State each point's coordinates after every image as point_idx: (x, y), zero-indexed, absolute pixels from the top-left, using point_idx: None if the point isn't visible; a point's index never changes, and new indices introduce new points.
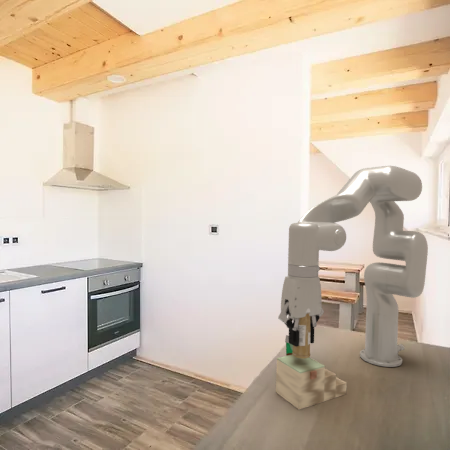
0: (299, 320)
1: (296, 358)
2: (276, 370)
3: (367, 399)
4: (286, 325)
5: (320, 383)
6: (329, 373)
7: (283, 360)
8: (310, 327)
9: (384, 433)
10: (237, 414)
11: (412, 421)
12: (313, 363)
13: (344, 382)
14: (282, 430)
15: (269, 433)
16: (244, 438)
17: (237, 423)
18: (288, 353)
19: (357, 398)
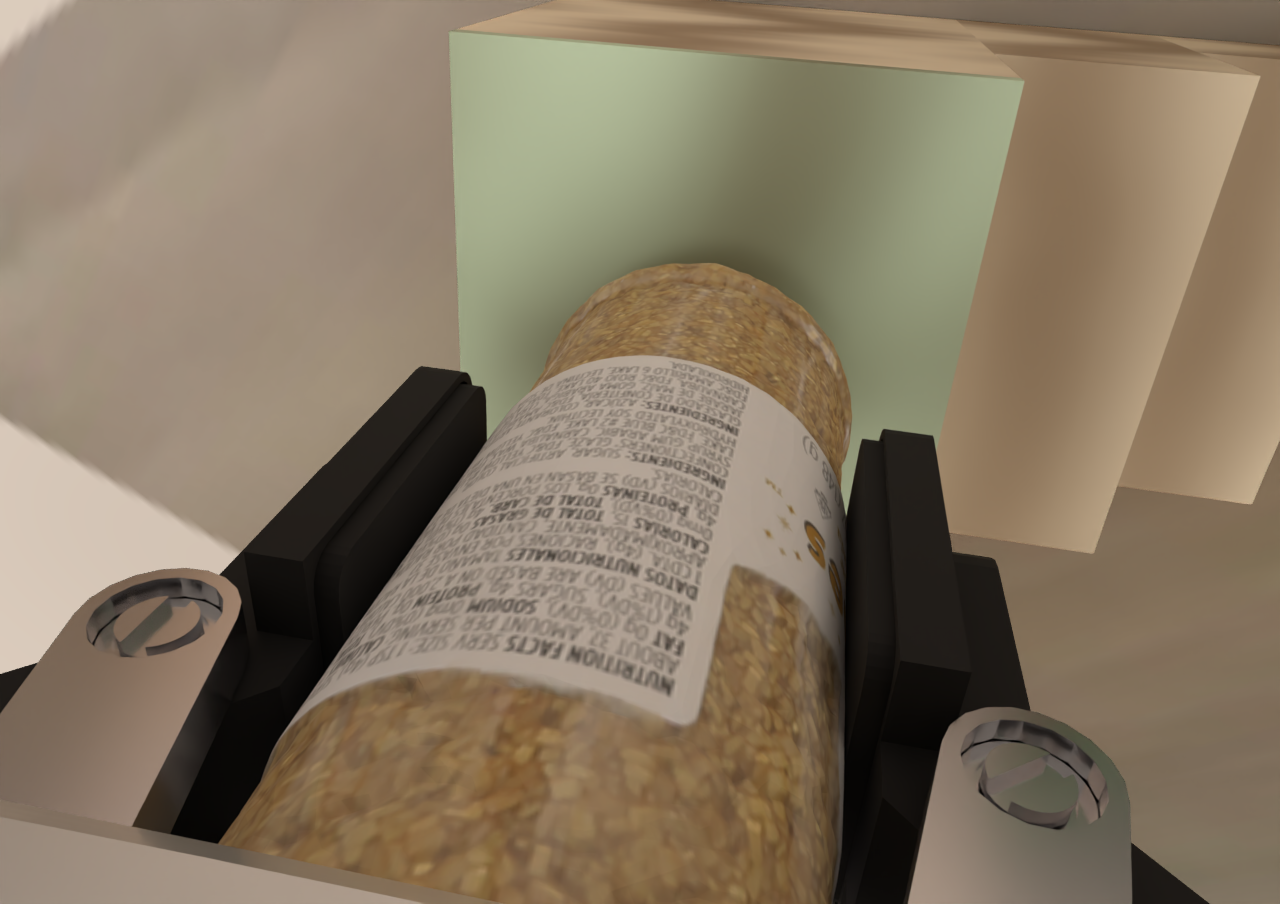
0: None
1: (739, 238)
2: (515, 13)
3: (1263, 595)
4: (4, 688)
5: None
6: (1049, 497)
7: (492, 175)
8: (852, 860)
9: None
10: (59, 115)
11: (1175, 876)
12: None
13: (1233, 490)
14: (298, 456)
15: (201, 429)
16: (27, 375)
17: (26, 218)
18: None
19: (1206, 538)
